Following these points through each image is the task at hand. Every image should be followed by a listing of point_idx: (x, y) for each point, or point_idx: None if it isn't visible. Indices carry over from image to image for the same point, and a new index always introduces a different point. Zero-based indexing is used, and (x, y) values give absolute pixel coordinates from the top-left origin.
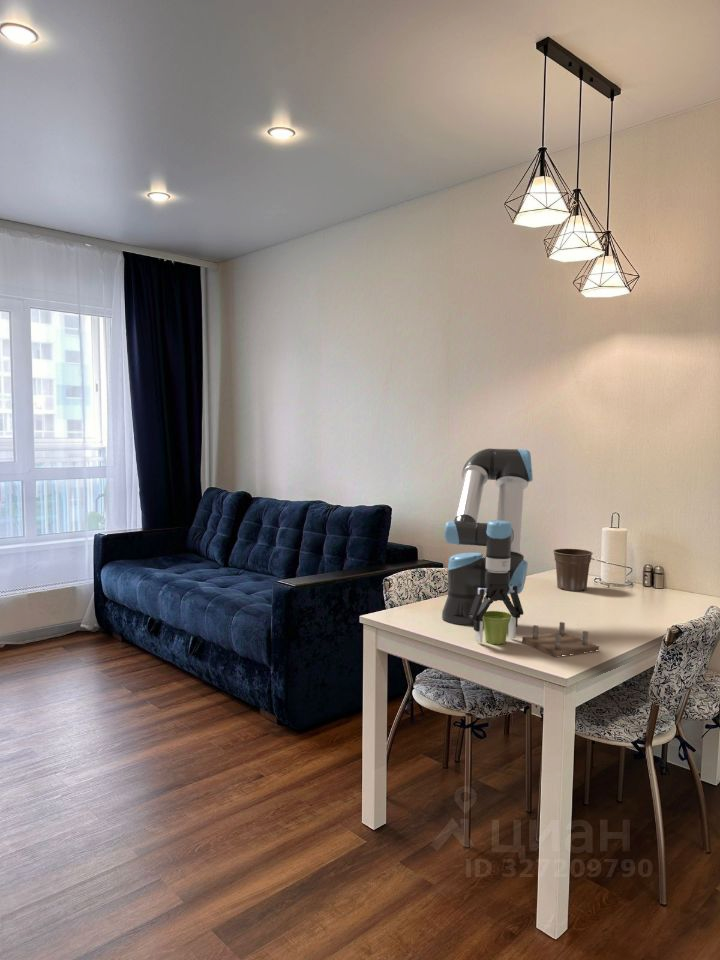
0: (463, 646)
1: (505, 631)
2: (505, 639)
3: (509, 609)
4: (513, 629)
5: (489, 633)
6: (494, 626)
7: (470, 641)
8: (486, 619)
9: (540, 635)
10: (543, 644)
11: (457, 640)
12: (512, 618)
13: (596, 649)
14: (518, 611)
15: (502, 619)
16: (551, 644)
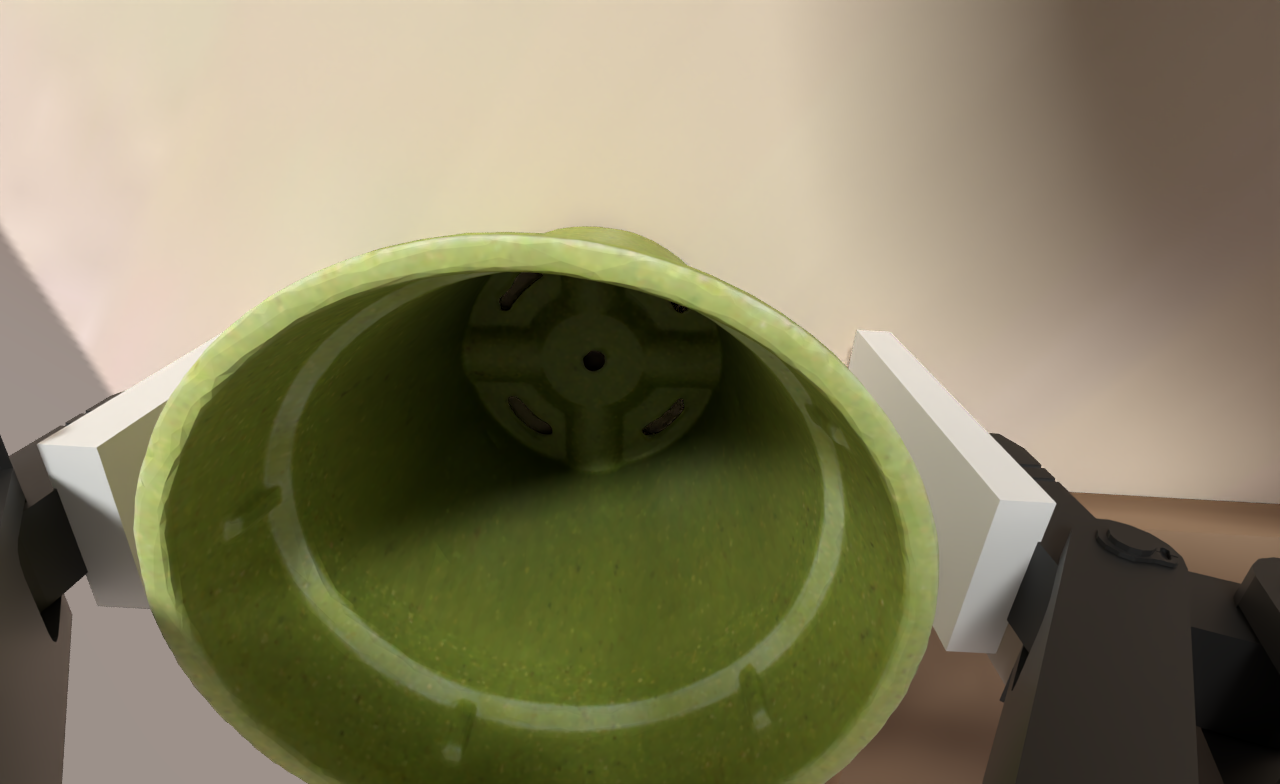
0: (83, 344)
1: (635, 582)
2: (668, 476)
3: (1015, 720)
4: None
5: (418, 464)
6: (418, 619)
7: (264, 203)
8: (243, 604)
9: (1178, 550)
10: (888, 758)
11: (76, 72)
12: (953, 592)
13: None
14: (1216, 714)
15: None
16: (959, 779)
